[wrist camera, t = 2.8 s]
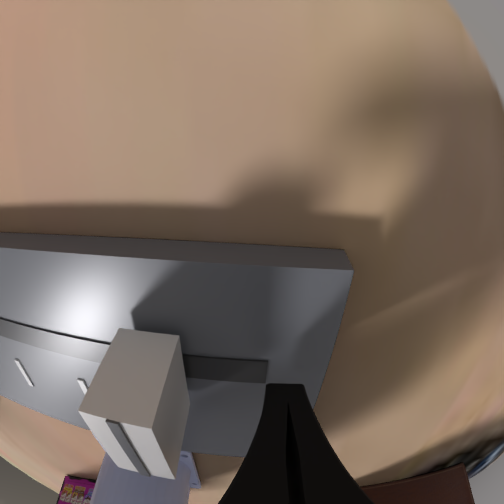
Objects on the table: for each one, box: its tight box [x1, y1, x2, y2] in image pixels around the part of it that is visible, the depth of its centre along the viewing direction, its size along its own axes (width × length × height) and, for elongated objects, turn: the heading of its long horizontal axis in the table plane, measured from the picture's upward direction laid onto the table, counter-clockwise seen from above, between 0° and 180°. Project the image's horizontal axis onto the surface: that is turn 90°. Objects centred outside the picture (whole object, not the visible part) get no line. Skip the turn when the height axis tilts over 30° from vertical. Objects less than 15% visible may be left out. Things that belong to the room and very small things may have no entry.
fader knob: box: [78, 328, 190, 480], centre depth 10 cm, size 4×2×4 cm, turn 177°
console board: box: [0, 232, 354, 457], centre depth 14 cm, size 14×30×2 cm, turn 87°
